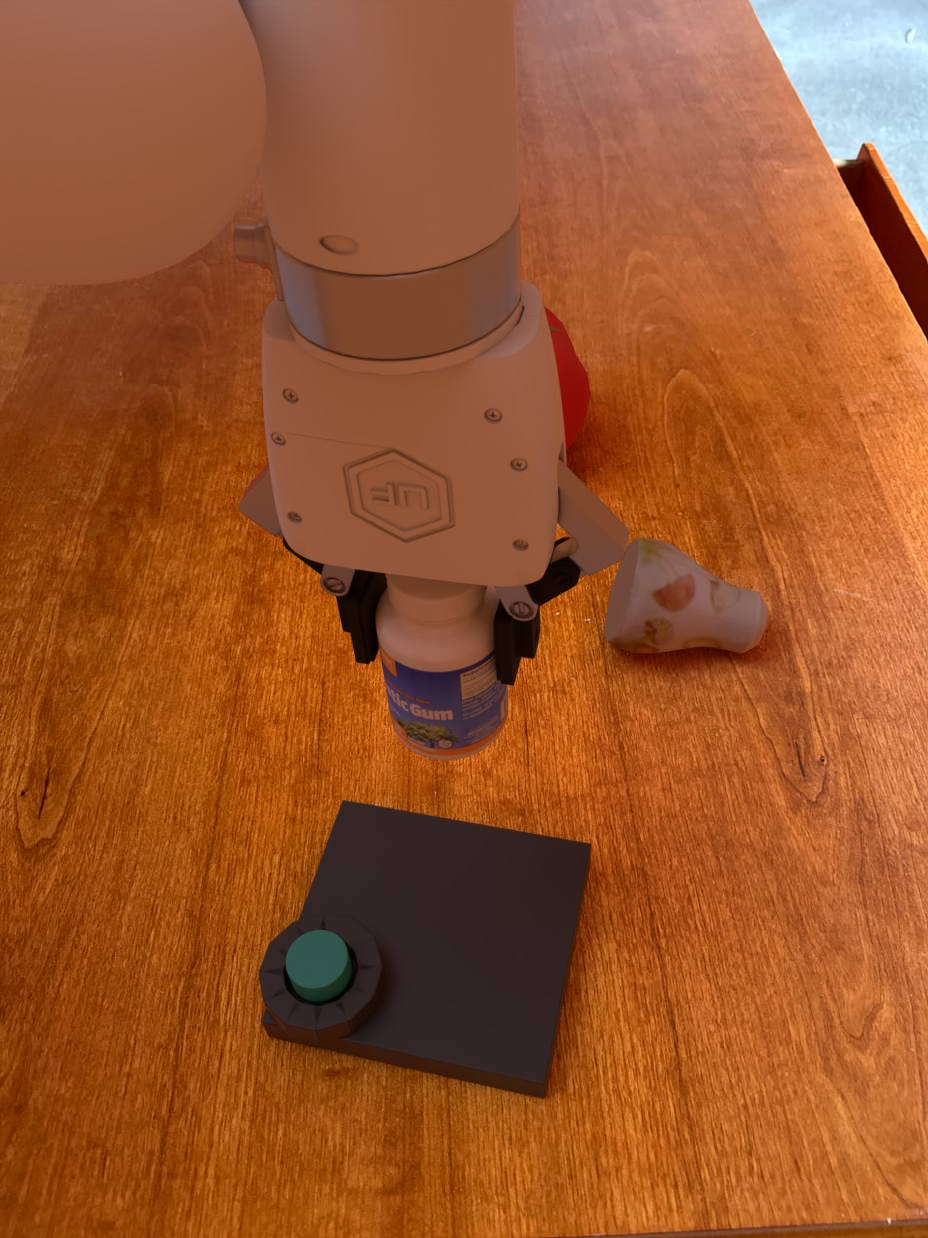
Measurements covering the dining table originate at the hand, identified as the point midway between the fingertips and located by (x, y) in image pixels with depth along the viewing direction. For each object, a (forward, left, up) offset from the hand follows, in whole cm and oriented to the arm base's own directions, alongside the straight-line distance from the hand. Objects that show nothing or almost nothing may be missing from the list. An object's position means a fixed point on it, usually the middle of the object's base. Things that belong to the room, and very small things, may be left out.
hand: (442, 646), depth 49 cm
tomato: (-7, +35, -19) cm, 41 cm away
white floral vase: (+9, +19, -19) cm, 29 cm away
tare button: (-5, -9, -15) cm, 18 cm away
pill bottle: (0, 0, -5) cm, 5 cm away
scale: (-1, -5, -19) cm, 19 cm away
